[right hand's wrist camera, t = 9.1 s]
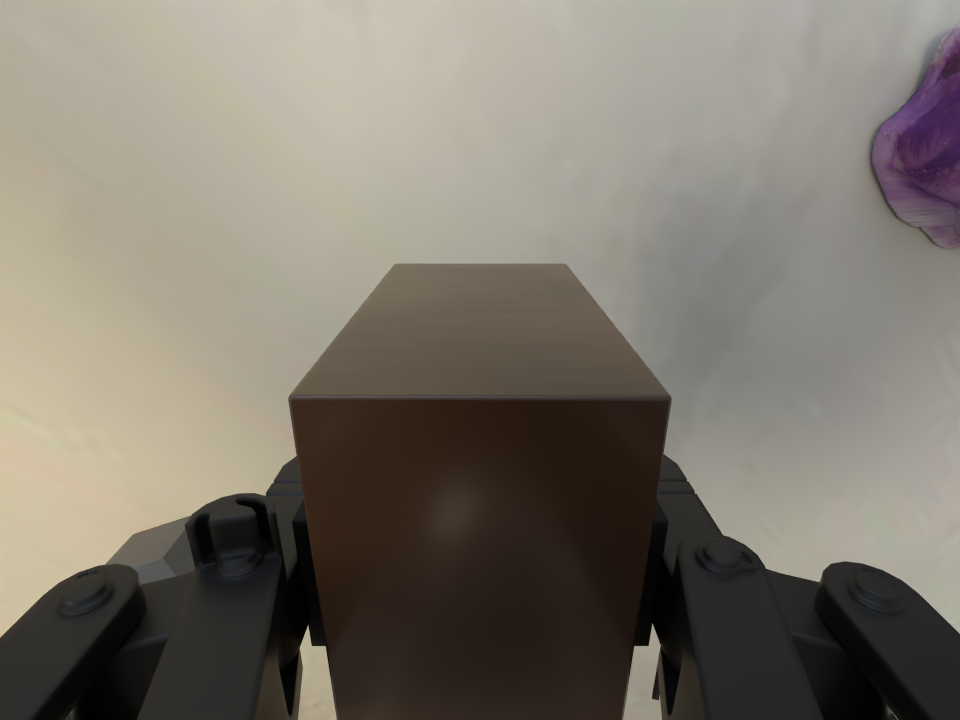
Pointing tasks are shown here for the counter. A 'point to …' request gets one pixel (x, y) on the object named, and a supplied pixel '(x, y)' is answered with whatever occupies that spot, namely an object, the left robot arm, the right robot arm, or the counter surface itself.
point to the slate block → (157, 552)
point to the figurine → (926, 150)
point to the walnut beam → (479, 496)
